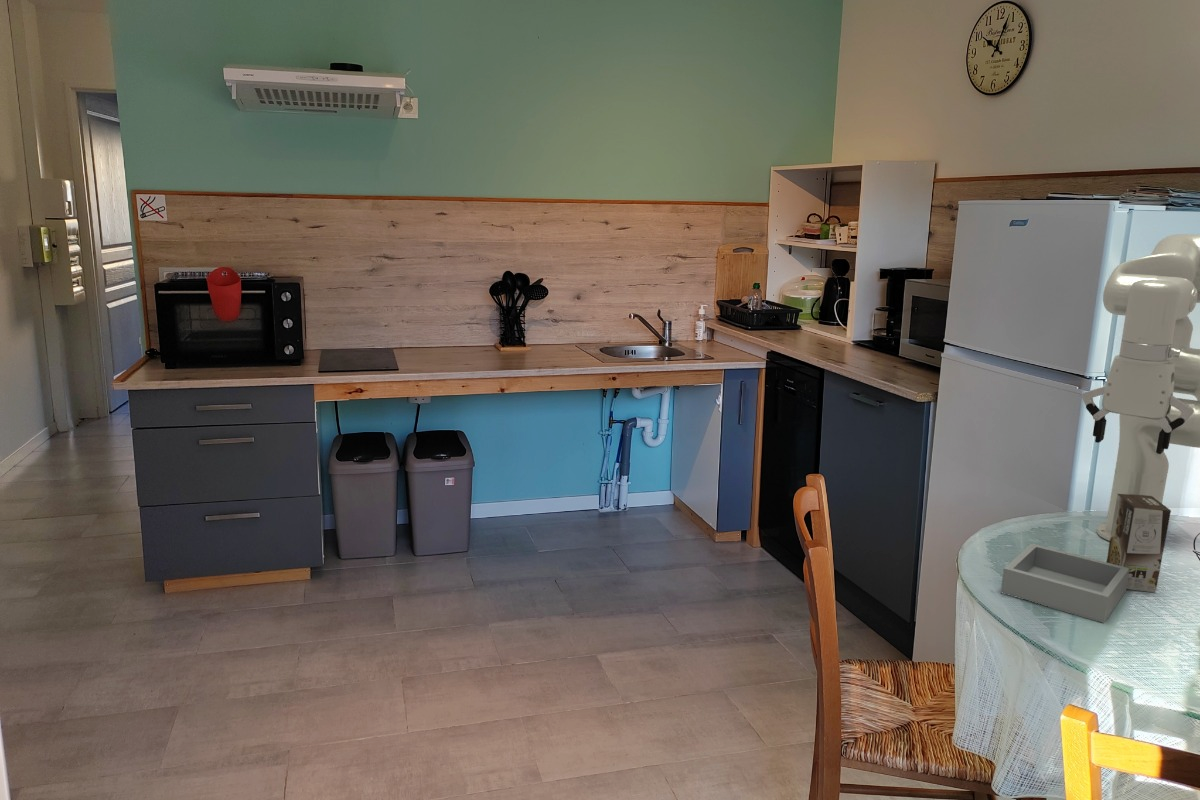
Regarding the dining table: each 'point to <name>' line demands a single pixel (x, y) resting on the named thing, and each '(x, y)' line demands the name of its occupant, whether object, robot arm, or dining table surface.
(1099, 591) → the grey bin
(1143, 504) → the coffee box
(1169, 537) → the dining table surface
